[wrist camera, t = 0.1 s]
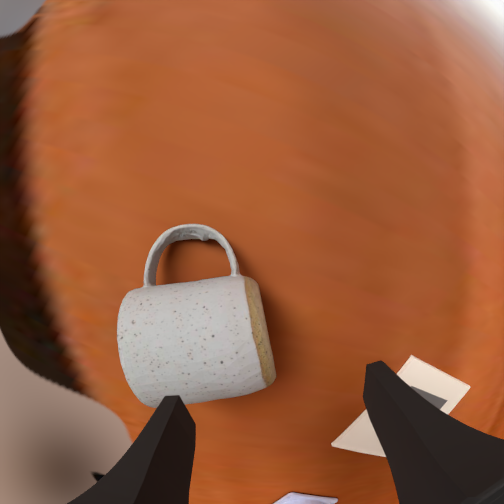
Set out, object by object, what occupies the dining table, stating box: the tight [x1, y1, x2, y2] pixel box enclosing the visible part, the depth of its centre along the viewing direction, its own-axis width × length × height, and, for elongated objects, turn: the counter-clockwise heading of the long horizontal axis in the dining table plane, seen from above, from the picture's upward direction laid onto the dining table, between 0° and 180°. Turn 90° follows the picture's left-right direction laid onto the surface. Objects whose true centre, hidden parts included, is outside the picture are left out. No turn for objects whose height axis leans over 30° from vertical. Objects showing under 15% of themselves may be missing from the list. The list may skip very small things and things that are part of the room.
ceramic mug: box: [117, 224, 276, 408], centre depth 17 cm, size 11×8×8 cm
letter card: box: [331, 355, 470, 457], centre depth 23 cm, size 12×12×1 cm
